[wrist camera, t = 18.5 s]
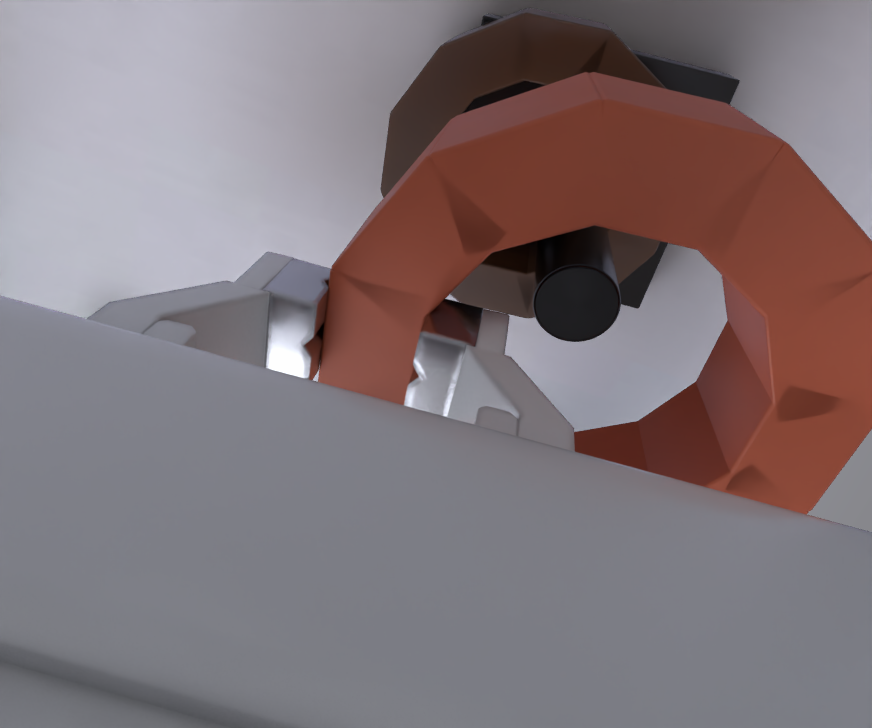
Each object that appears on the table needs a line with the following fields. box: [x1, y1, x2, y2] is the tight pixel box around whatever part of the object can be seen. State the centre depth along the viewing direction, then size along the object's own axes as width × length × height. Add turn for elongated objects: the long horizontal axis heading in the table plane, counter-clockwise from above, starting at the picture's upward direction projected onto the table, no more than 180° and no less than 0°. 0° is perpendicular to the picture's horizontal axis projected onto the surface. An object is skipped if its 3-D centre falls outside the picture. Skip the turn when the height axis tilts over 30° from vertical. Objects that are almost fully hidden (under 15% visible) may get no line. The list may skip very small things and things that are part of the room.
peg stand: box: [462, 13, 739, 342], centre depth 20 cm, size 9×9×12 cm
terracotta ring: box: [318, 72, 872, 514], centre depth 13 cm, size 10×10×3 cm
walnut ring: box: [381, 8, 666, 318], centre depth 22 cm, size 10×10×3 cm
